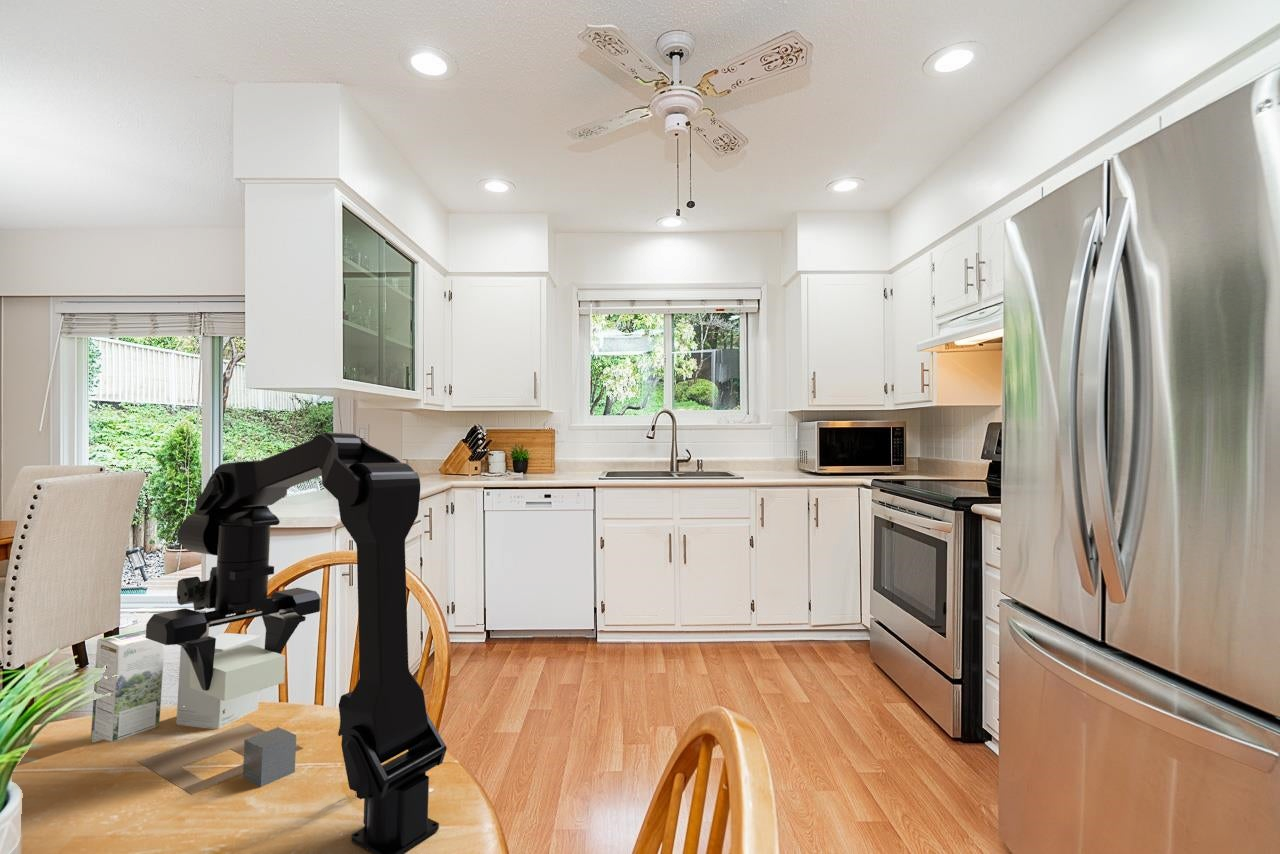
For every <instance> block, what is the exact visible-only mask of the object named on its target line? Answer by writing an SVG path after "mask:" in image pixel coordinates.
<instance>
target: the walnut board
mask: <svg viewBox="0 0 1280 854" xmlns="http://www.w3.org/2000/svg"><path fill="white" fill-rule="evenodd" d="M264 732H266V730H264V729H262V728H260V727H258V726H255V725H253V724H250V723H249V722H246V723H243V724H241V725H237V726H235V727H231V728H229V729H227V730H223V731H221V732H218V733H215V734H212V735H209V736H205V737H203V738H201V739H198V740H195V741H194V740H193V741H191V742H189V743H186V744H183V745H181V746H178V747H175V748H172V749H169V750H166V751H163V752H161V753H157V754H154V755H152V756H149V757H146V758H143V759H140V760H138V761H137V763H139V764H141V765H142V766H144V767H145V768H147V769H149V770H151V771H152V772H154V773H156V774H157V775H159V776H160V777H162V778H163V779H164V780H166V781H168V782H170V783H171V784H174V785H175V786H176V787H178V788H180V789H181V790H183V791H185V792H186V793H188V794H190V795H194V794H196V793H199V792H201V791H203V790H206V789H208V788H212V787H213V786H216V785H219V784H221V783H223V782H225V781H228V780H230V779H233V778H236V777H238V776H241V775H243V764H240V765H237V766H235V767H233V768H230V769H228V770H226V771H223V772H220V773H218V774H216V775H213V776H210V777H208V778H205V779H203V778H201V777H199V776H197V775H196V774H194V773H192V772H191V771H189V770H187V769H185V767H186V766H189V765H193V764H195V763H198V762H200V761H203V760H205V759H209V758H210V757H213V756H216V755H218V754H222V753H224V752H226V751H230V750H231V751H233V752H235V753H237V754H239V755H241V756H243V757H244V740H245V739H247V738H250V737H253V736H256V735H258V734H261V733H264ZM303 749H304V747H303V746H300V745H298V744H296V752H299V751H301V750H303Z"/></svg>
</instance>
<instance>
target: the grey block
mask: <svg viewBox="0 0 1280 854" xmlns="http://www.w3.org/2000/svg"><path fill="white" fill-rule="evenodd" d="M265 731H266V730H265ZM296 745H297V734H295V733H293V732H291V731H289V730H285V729H283V728H281V727H279V726H277V727H275V728H273V729H269V730H267V731H266V732H264V733H261V734H258V735H256V736H253V737H250V738H247V739H245V740H244V756H243V762H242V763H243V774H242V778H243V779H244V780H245V781H246V780H247V781H248V782H251V783H252V784H254V785H256V786H257V787H259V788H262V787H264V786H267V785H269V784H271V783H274V782H276V781H278V780H280V779H282V778H285V777H287V776H290V775H291V774H294V773H295V772H296V755H297V754H296V752H297V751H296Z"/></svg>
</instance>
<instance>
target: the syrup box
mask: <svg viewBox="0 0 1280 854" xmlns="http://www.w3.org/2000/svg"><path fill="white" fill-rule="evenodd" d="M165 646H166V645H164V644H161V643H159V642H156V641H153V640H150V639H147V638H146V629H139V630H136V631H131V632H126V633H121V634H116V635H112V636H108V637H103V638H98V639H97V641H96V654H95V655H96V656H95V668H103V667H104V666H105V665H107V664H108V666H107V668H106V670H105V672H104V673H103V677H102V678H101V679H100V680H99V681H97V682H96V683H95V682H94V683H95V684H94V685H93V686H94V687H93V692H94V691H95V692H96V693H97V694H102V695H105V694H107V693H112V694H111V695H110V696H105V697H102V698H99V699H96V700H93V702H92V714H91V715H92V716H91V717H92V718H91V732H90V733H91V734H90V743H92V744H93V743H97V742H99V741H102V740H105V741H109V742H111V743H113V742H116V741H119V740H123V739H125V738H128V737H131V736H135V735H137V734H140V733H143V732H145V731H149V730H153V729H155V728H157V727H160V719H161V704H162V688H163V686H162V685H163V674H164V673H163V672H164V659H165ZM114 675H118V676H117V677H112V676H114ZM104 676H107V677H109V679H105V678H104Z"/></svg>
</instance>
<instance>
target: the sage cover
mask: <svg viewBox="0 0 1280 854" xmlns="http://www.w3.org/2000/svg"><path fill="white" fill-rule="evenodd" d="M285 666H286V655H285V654H282V653H281V654H279V653H276V652H272V651H269V650H266V649H265V648H262V647H261V648H259V647H256V646H253V645H246V646H242V647H238V648H234V649H230V650H226V651H222V652H218V653H214V664H213V675H212V680H211V684H210V688H209V690H207V691H205V690H203V689H202V688H201V686H200V683H199V680H198V678H197V675H196V673H195V670H194V668H193V665H192V663H191V664H190V685H189V687H190V688H193V689H195V690H198V691H200V692H203V693H205V694H208V695H210V696H213V697H215V698H217V699H220V700H222V701H227V700H230V699H234V698H237V697H240V696H243V695H246V694H249V693H253V692H256V691H259V692H260V691H262V690H265V689H268V688H271V687H274V686H277V685H281V684H284V683H285V671H286V670H285V669H286V667H285Z"/></svg>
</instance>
